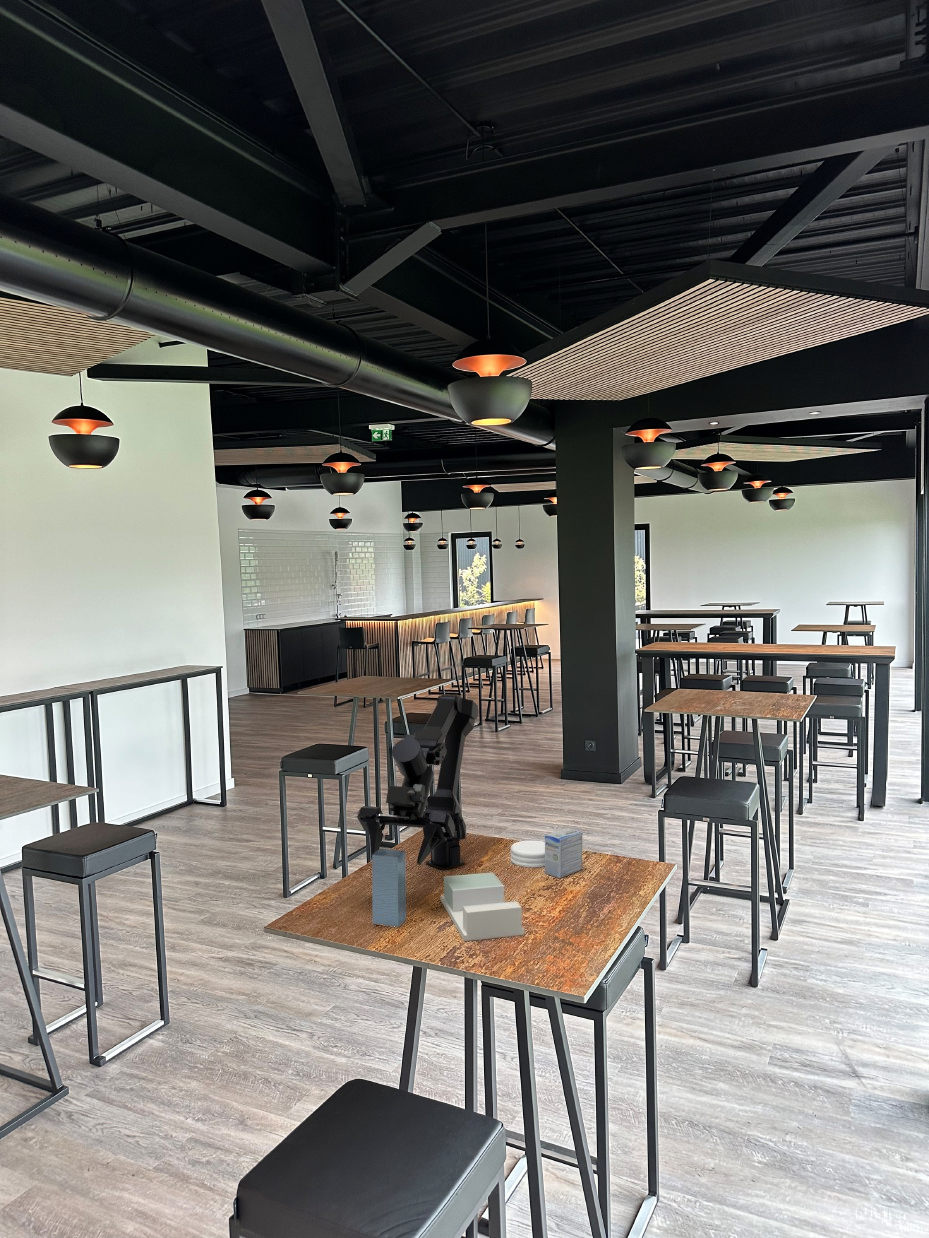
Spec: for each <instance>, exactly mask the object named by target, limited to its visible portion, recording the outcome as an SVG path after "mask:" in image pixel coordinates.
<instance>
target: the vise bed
mask: <svg viewBox="0 0 929 1238" xmlns="http://www.w3.org/2000/svg"><path fill="white" fill-rule="evenodd" d="M440 902H441V903H442V905H443V906H444V909H445V910H446V912H447V914H448V915H449V917H450V919H451V921H452V922H453V924H454V926H455V927H456V929H457V931H458V933H459V934H460V936H461V938H462V940H463V942H468V941H470V942H471V941H480V940H488V939H497V938H508V937H516V936H524V935H525V928H524V927H523V926H522V924H523V922H522V918H523V917H522V913H523V912H522V909H523V908H522V906H521V904H520V903H519V902H518V901H517V900H515V901H504V902H503V903H493V904H483V905H472V906H463V911H454V912H453V911H452V909H451V907H450V905H449V904H448V902H447V900H446V899H445V897H444V894H441V895H440Z"/></svg>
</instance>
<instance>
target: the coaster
mask: <svg viewBox="0 0 929 1238" xmlns="http://www.w3.org/2000/svg"><path fill="white" fill-rule="evenodd" d="M509 850H510V853H509V854H510V861H511V864H513V865H516V866H519V867H524V868H545V841H543V840H542V841H541V840H523V841H517V842H514V843H513V844H512V845H511V846H510V849H509Z"/></svg>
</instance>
